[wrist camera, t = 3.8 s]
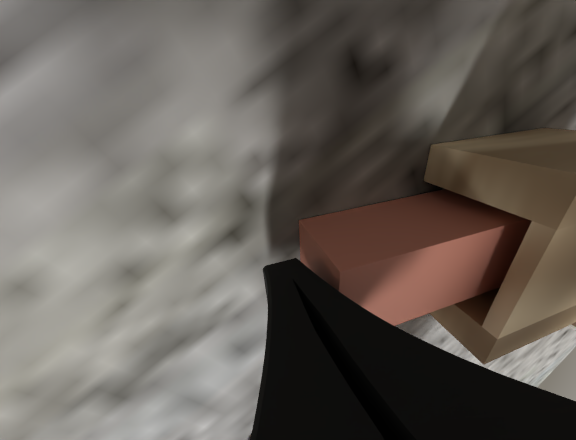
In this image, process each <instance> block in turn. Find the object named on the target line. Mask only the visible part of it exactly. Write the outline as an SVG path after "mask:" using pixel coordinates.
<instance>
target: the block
mask: <svg viewBox="0 0 576 440" xmlns="http://www.w3.org/2000/svg"><path fill="white" fill-rule="evenodd" d="M424 181H425V182H428V183H431V184H433V185H436V186H439V187H442V188H444V189H447V190H450V191H452V192H455V193H458V194H460V195H463V196H466V197H469V198H471V199H474V200H477V201H479V202H482V203H485V204H488V205H490V206H493V207H496V208H498V209H501V210H504V211H506V212H509V213H512V214H515V215H517V216H520V217H523V218H525V219H528V220H531V221H532V222H531V224H530V226H529V228H528V230H527V232H526V234H525V237H524V239H523V241H522V243H521V245H520V247H519V249H518V251H517V253H516V255H515V258H514V260H513V262H512V264H511V266H510V268H509V270H508V272H507V274H506V276H505V279H504V281H503V283H502V285H501V287H499V288H496V289H494V290H491V291H488V292H485V293H483V294H480V295H477V296H475V297H472V298H469V299H466V300H464V301H461V302H458V303H455V304H453V305H450V306H447V307H444V308H442V309H439V310H436V311H434V312H431V313H429V314H430V315H432V316H433V317H434V318H435V319H436V320H437V321H438V322H439V323H440V324H441V325H442V326H443V327H444V328H445V329H446V330H447V331H449V332H450V333H451V334H452V335H453V336H454V337H455V338H456V339H457V340H458V341H459V342H460V343H461V344H462V345H463V346H464V347H466V348H467V349H468V350H469V351H470V352H471V353H472V354H473V355H474V356H475V357H476V358H477V359H478V360H479V361H480V362H481V363H483V364H486V363H488V362H490V361H492V360H495V359H497V358H499V357H501V356H503V355H505V354H508V353H510V352H512V351H514V350H516V349H518V348H521V347H523V346H525V345H527V344H529V343H532V342H534V341H536V340H538V339H540V338H542V337H545V336H547V335H549V334H551V333H553V332H555V331H558V330H560V329H562V328H564V327H566V326H568V325H571V324H573V323H575V322H576V130H564V129H552V128H540V129H533V130H527V131H520V132H513V133H506V134H499V135H493V136H486V137H479V138H472V139H466V140H459V141H452V142H445V143H438V144H432V145H431V148H430V153H429V157H428V162H427V167H426V171H425V176H424Z"/></svg>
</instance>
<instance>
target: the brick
mask: <svg viewBox="0 0 576 440" xmlns="http://www.w3.org/2000/svg"><path fill="white" fill-rule="evenodd" d="M531 222H532V221H531V220H528V219H525V218H523V217H520V216H517V215H515V214H512V213H509V212H506V211H504V210H501V209H498V208H496V207H493V206H490V205H488V204H485V203H482V202H479V201H477V200H474V199H471V198H469V197H466V196H463V195H460V194H458V193H455V192H452V191H450V190H447V189H443V190H438V191H433V192H429V193H424V194H419V195H415V196H410V197H405V198H401V199H396V200H391V201H386V202H382V203H377V204H372V205H368V206H363V207H358V208H353V209H349V210H344V211H339V212H335V213H330V214H325V215H320V216H316V217H311V218H306V219H302V220H299V236H300V257H301V262H302V263H303V264H304V265H305V266H307V267H308V268H309V269H310V270H312V271H313V272H314V273H315V274H317V275H318V276H319V277H320V278H322V279H323V280H324V281H326V282H327V283H328V284H330V285H331V286H332V287H334V288H335V289H336V290H338V291H339V292H341V293H342V294H343V295H345V296H346V297H348V298H349V299H351V300H352V301H354V302H355V303H357V304H358V305H360V306H361V307H363V308H364V309H366V310H368V311H369V312H371V313H373V314H374V315H376V316H378V317H379V318H381V319H383V320H384V321H386V322H388V323H390V324H392V325H393V326H395V325H398V324H401V323H403V322H406V321H409V320H412V319H414V318H417V317H420V316H423V315H425V314H428V313H431V312H434V311H436V310H439V309H442V308H444V307H447V306H450V305H453V304H455V303H458V302H461V301H464V300H466V299H469V298H472V297H475V296H477V295H480V294H483V293H485V292H488V291H491V290H494V289H496V288H499V287H501V285H502V283H503V281H504V279H505V276H506V274H507V272H508V270H509V268H510V266H511V264H512V262H513V260H514V258H515V255H516V253H517V251H518V249H519V247H520V245H521V243H522V241H523V239H524V237H525V234H526V232H527V230H528V228H529V226H530V224H531Z"/></svg>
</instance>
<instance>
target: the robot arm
mask: <svg viewBox="0 0 576 440" xmlns="http://www.w3.org/2000/svg"><path fill="white" fill-rule="evenodd" d="M263 273H264V280H265V287H266V294H267V301H268V323H267V339H266V349H265V358H264V365H263V373H262V379H261V385H260V391H259V397H258V403H257V409H256V414H255V420H254V425H253V430H252V434H251V439H250V440H576V401H573V400H570V399H567V398H565V397H562V396H559V395H556V394H554V393H551V392H548V391H545V390H542V389H539V388H537V387H534V386H531V385H529V384H526V383H523V382H520V381H517V380H515V379H512V378H509V377H506V376H504V375H501V374H499V373H496V372H494V371H491V370H489V369H486V368H484V367H481V366H479V365H477V364H474V363H472V362H469V361H467V360H464V359H462V358H460V357H458V356H455V355H453V354H451V353H448V352H446V351H444V350H442V349H440V348H438V347H436V346H434V345H431V344H429V343H427V342H425V341H423V340H421V339H419V338H417V337H414V336H412V335H411V334H409V333H407V332H405V331H403V330H401V329H399V328H397V327H395V326H393V325H392V324H390V323H388V322H386V321H384V320H383V319H381V318H379V317H378V316H376V315H374V314H373V313H371V312H369V311H368V310H366V309H364V308H363V307H361V306H360V305H358V304H357V303H355V302H354V301H352V300H351V299H349V298H348V297H346V296H345V295H343V294H342V293H341V292H339V291H338V290H336V289H335V288H334V287H332V286H331V285H330V284H328V283H327V282H326V281H324V280H323V279H322V278H320V277H319V276H318V275H317V274H315V273H314V272H313V271H312V270H310V269H309V268H308V267H307V266H305V265H304V264H303V263H302V262H301V261H299V260H298V259H297V258H295V259H291V260H287V261H283V262H279V263H275V264H271V265H267V266H265V267H264V268H263Z"/></svg>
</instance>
